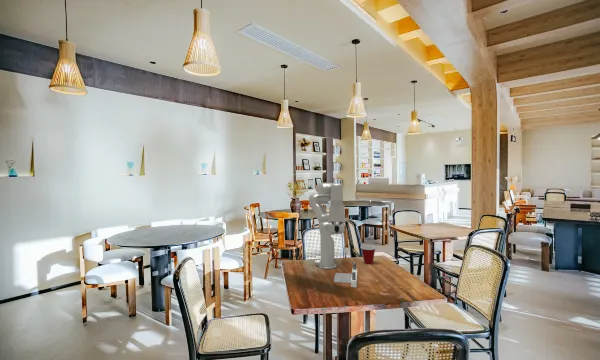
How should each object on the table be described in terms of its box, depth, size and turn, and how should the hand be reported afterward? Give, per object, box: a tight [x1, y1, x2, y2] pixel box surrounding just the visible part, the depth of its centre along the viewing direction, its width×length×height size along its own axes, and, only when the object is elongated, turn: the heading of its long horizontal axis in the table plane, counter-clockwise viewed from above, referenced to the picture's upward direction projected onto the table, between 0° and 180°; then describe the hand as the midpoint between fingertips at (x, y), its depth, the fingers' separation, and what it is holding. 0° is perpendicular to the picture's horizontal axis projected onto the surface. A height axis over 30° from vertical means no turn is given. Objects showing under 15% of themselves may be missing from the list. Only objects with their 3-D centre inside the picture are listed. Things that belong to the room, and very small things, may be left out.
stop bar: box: [350, 262, 358, 288], centre depth 192 cm, size 3×26×8 cm, turn 169°
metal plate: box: [333, 272, 352, 284], centre depth 193 cm, size 10×10×3 cm
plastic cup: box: [360, 244, 377, 265], centre depth 230 cm, size 11×11×12 cm
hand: (336, 232), depth 202 cm, fingers closed
